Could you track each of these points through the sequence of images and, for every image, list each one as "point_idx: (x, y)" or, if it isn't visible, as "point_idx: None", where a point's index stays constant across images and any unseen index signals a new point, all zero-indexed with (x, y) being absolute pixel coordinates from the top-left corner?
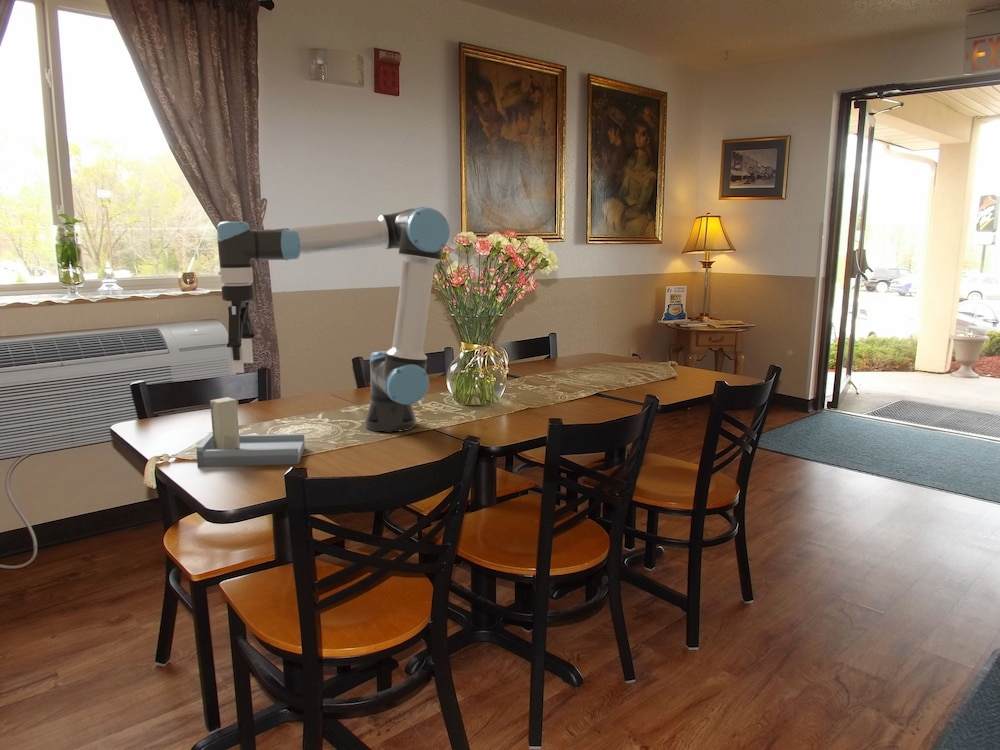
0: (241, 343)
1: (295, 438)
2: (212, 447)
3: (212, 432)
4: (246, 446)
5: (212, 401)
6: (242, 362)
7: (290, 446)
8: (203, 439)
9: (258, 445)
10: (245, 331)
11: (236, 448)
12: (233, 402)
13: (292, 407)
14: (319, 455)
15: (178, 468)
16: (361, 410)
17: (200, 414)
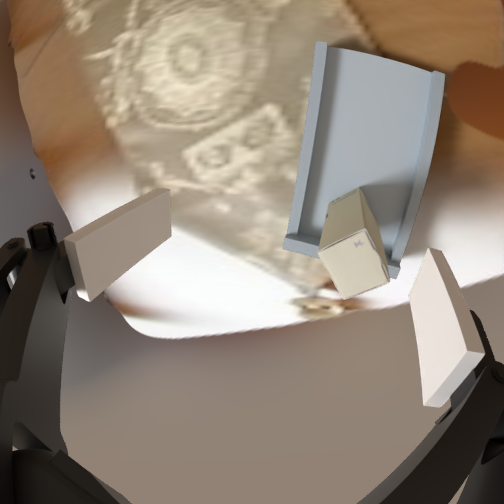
0: (106, 283)
1: (326, 62)
2: None
3: (287, 244)
4: (350, 172)
5: (357, 294)
6: (455, 284)
7: (376, 78)
8: None
9: (350, 145)
10: (53, 307)
11: None
12: (371, 236)
13: (59, 113)
14: (382, 29)
15: (385, 287)
16: (89, 2)
17: None
